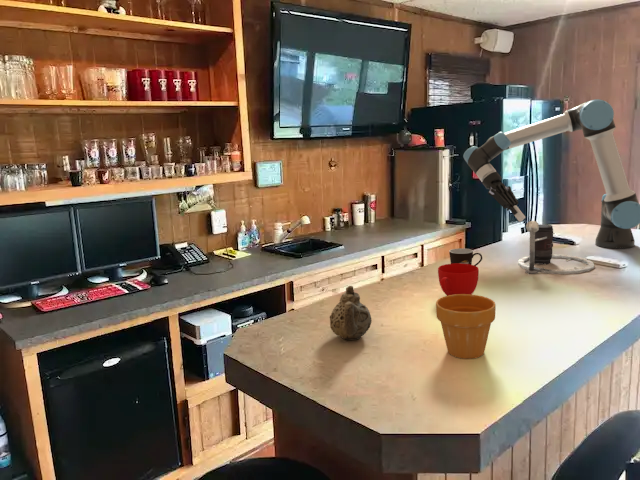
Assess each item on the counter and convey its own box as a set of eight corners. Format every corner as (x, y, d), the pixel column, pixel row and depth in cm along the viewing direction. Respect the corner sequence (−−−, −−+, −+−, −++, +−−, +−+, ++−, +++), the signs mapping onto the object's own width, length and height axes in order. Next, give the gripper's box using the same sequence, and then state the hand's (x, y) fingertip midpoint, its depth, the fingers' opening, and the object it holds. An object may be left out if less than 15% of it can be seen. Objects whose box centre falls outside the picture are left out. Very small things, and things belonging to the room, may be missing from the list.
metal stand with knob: (533, 274, 196) (534, 222, 192) (522, 272, 199) (523, 221, 195) (550, 268, 202) (552, 218, 198) (540, 266, 206) (541, 217, 202)
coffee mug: (447, 279, 196) (447, 253, 194) (451, 273, 204) (451, 248, 202) (480, 280, 192) (480, 254, 190) (482, 274, 200) (482, 248, 198)
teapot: (330, 325, 156) (328, 276, 153) (369, 323, 156) (367, 274, 153) (330, 355, 135) (326, 299, 132) (375, 353, 135) (372, 297, 132)
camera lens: (548, 259, 216) (549, 223, 213) (555, 264, 208) (556, 227, 205) (528, 260, 217) (528, 224, 214) (533, 265, 209) (534, 227, 206)
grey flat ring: (573, 255, 220) (573, 252, 220) (607, 271, 194) (608, 269, 194) (508, 258, 221) (508, 256, 221) (534, 275, 194) (534, 273, 194)
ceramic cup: (424, 302, 172) (423, 272, 170) (450, 289, 184) (450, 261, 182) (460, 309, 163) (460, 278, 161) (485, 295, 175) (485, 266, 173)
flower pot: (460, 368, 123) (460, 316, 121) (425, 348, 136) (424, 300, 134) (507, 355, 129) (508, 305, 126) (469, 337, 142) (469, 290, 139)
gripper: (493, 181, 232) (526, 223, 222) (474, 184, 225) (506, 227, 215) (504, 169, 227) (538, 211, 216) (484, 172, 219) (518, 215, 209)
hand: (522, 219), depth 216 cm, fingers closed
